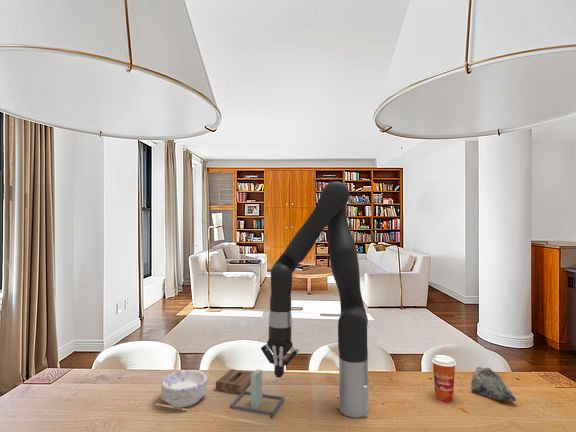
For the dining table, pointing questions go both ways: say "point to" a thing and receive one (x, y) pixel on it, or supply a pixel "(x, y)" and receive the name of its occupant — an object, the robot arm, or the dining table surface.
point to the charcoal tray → (258, 409)
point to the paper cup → (444, 377)
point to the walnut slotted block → (234, 381)
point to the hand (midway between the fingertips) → (279, 376)
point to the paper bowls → (184, 388)
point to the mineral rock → (490, 385)
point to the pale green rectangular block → (256, 388)
